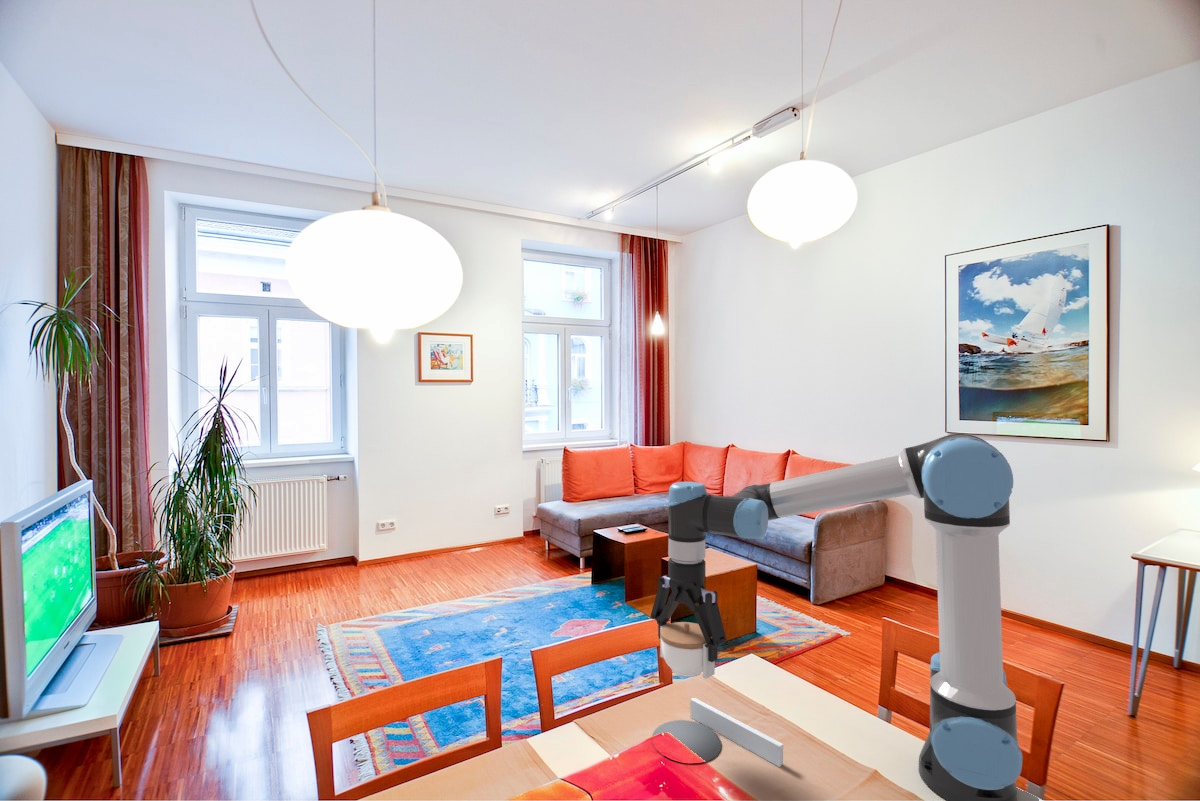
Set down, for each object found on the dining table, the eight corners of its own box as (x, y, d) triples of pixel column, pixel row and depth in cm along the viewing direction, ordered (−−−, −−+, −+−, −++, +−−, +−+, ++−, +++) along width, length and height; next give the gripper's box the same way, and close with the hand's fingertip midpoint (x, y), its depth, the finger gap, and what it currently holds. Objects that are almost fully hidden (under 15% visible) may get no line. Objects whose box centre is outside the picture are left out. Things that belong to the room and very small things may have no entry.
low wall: (783, 764, 110) (783, 744, 110) (779, 767, 109) (779, 746, 109) (693, 715, 126) (694, 697, 126) (690, 717, 125) (690, 699, 125)
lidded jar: (710, 658, 121) (710, 615, 121) (715, 684, 111) (716, 636, 110) (660, 656, 122) (660, 613, 122) (660, 681, 112) (660, 634, 112)
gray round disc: (734, 743, 116) (734, 742, 116) (690, 774, 107) (690, 772, 107) (682, 714, 127) (682, 712, 127) (637, 739, 117) (637, 738, 117)
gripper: (745, 568, 110) (745, 680, 110) (657, 543, 127) (657, 640, 128) (722, 576, 105) (721, 694, 105) (633, 549, 122) (633, 651, 123)
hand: (686, 665), depth 116 cm, fingers closed on lidded jar, 11 cm apart
